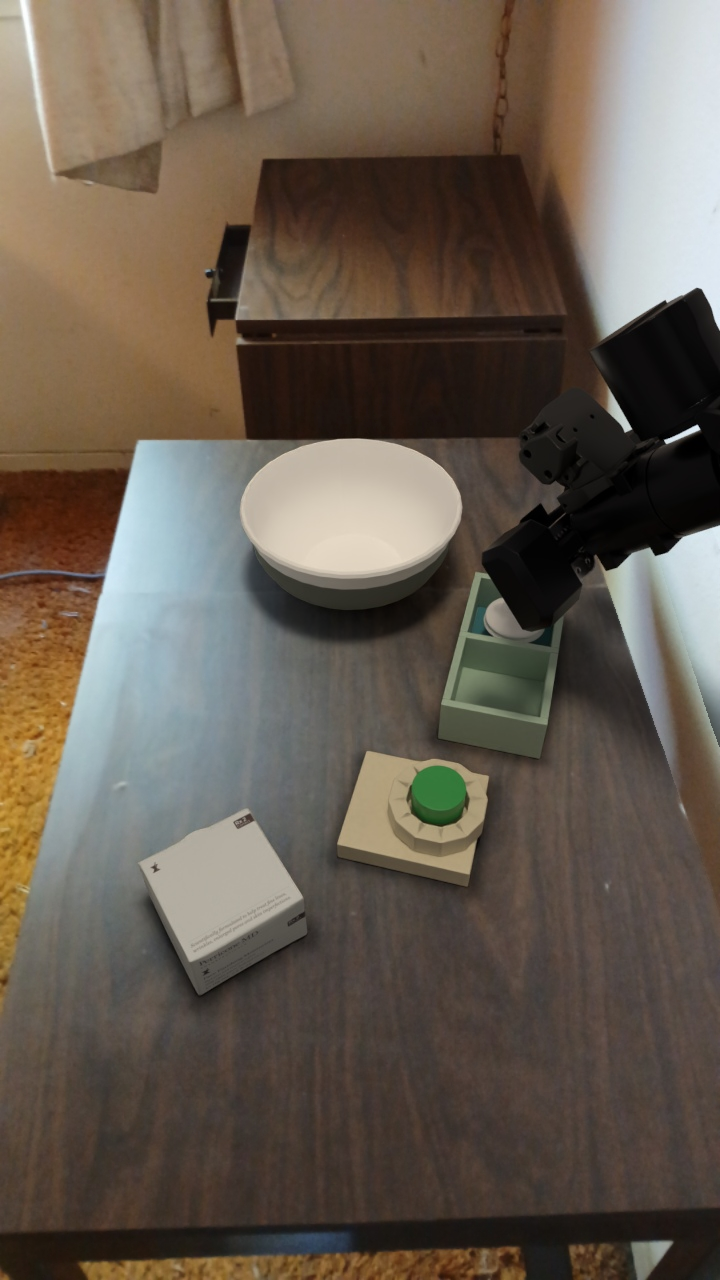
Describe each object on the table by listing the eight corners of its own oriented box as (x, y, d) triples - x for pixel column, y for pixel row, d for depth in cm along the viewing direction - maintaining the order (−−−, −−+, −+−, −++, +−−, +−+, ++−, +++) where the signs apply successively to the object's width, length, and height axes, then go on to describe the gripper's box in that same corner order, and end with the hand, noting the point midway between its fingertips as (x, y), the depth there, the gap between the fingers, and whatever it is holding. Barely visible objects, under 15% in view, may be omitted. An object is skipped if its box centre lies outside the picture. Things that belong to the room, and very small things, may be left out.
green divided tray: (471, 606, 77) (475, 571, 74) (560, 621, 76) (568, 586, 73) (437, 738, 67) (440, 704, 64) (539, 759, 66) (547, 725, 63)
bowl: (254, 659, 73) (243, 586, 67) (245, 518, 86) (235, 446, 80) (476, 636, 75) (485, 563, 69) (435, 501, 88) (439, 429, 82)
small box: (199, 1000, 54) (186, 965, 50) (149, 899, 59) (134, 859, 55) (311, 935, 57) (306, 897, 53) (255, 843, 61) (247, 802, 58)
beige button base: (490, 790, 64) (495, 761, 62) (471, 888, 59) (475, 861, 56) (366, 763, 66) (366, 735, 63) (337, 857, 61) (335, 829, 58)
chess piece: (470, 621, 72) (482, 523, 65) (510, 593, 74) (526, 495, 67) (518, 653, 69) (536, 554, 62) (557, 623, 72) (579, 524, 64)
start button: (468, 785, 61) (470, 771, 59) (459, 830, 58) (461, 815, 57) (417, 775, 61) (418, 760, 60) (405, 818, 59) (406, 804, 58)
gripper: (686, 318, 58) (525, 409, 71) (524, 443, 48) (372, 521, 61) (766, 464, 60) (595, 527, 73) (624, 612, 50) (457, 653, 63)
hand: (510, 552), depth 68 cm, fingers closed on chess piece
